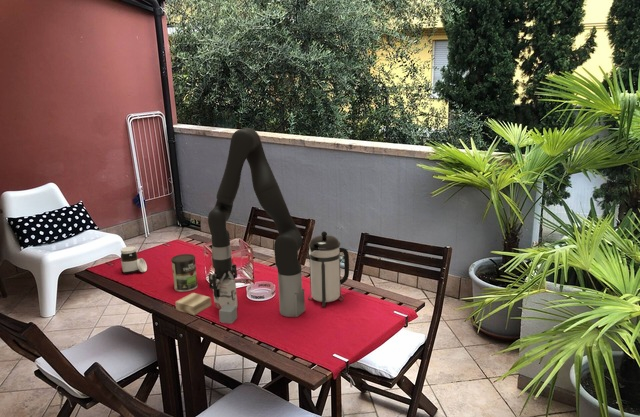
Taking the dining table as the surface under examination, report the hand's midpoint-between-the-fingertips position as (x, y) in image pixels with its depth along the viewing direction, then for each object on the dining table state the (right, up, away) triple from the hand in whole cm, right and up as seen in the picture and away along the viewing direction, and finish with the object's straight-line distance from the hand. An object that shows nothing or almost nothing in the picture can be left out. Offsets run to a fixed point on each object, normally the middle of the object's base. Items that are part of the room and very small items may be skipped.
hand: (224, 293), depth 207 cm
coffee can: (-22, -1, +23) cm, 31 cm away
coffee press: (+42, -4, +7) cm, 43 cm away
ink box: (0, -6, +2) cm, 7 cm away
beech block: (-13, -7, +2) cm, 15 cm away
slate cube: (+3, -9, -9) cm, 13 cm away
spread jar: (-52, +3, +44) cm, 68 cm away
